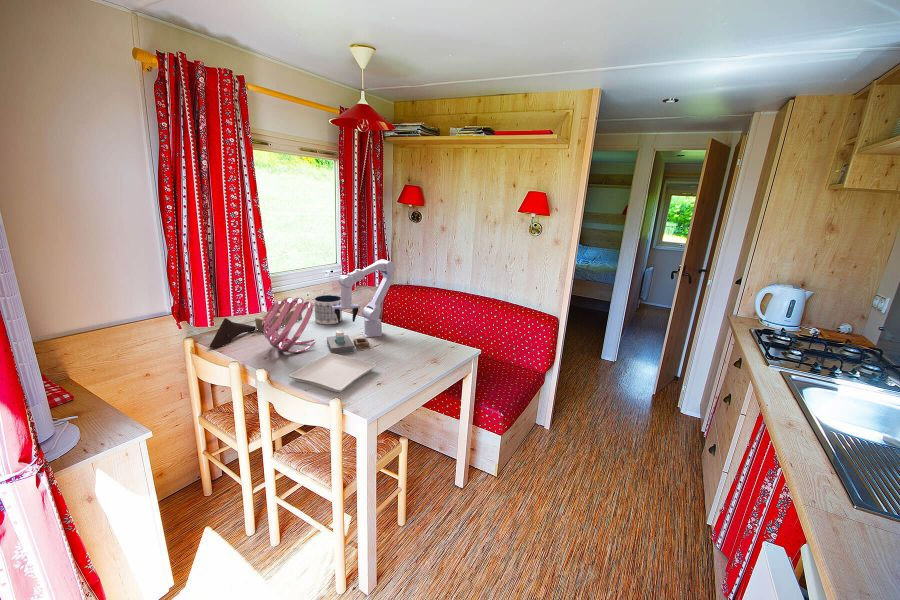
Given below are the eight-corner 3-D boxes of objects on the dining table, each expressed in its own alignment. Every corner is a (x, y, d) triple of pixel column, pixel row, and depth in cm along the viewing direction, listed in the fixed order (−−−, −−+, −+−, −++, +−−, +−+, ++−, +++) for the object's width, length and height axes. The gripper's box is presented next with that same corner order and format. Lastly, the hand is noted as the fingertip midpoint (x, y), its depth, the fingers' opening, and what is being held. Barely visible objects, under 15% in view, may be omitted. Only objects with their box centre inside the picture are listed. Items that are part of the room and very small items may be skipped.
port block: (347, 340, 208) (347, 334, 207) (353, 352, 194) (353, 345, 193) (326, 343, 203) (326, 336, 202) (331, 354, 189) (331, 348, 188)
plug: (342, 344, 201) (342, 329, 199) (344, 347, 197) (344, 332, 195) (336, 344, 200) (335, 330, 197) (337, 348, 196) (337, 333, 193)
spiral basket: (334, 304, 206) (287, 277, 193) (332, 333, 182) (278, 306, 169) (305, 339, 213) (258, 316, 200) (300, 372, 189) (245, 349, 176)
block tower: (266, 334, 213) (304, 318, 239) (265, 320, 211) (303, 306, 237) (256, 331, 216) (294, 316, 242) (254, 317, 214) (293, 303, 240)
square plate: (330, 359, 186) (329, 351, 185) (377, 371, 176) (378, 363, 175) (287, 382, 162) (286, 374, 161) (340, 398, 152) (340, 389, 151)
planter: (347, 319, 242) (346, 297, 238) (329, 326, 228) (329, 303, 224) (327, 315, 248) (326, 293, 244) (309, 321, 234) (308, 299, 230)
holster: (242, 354, 211) (206, 346, 188) (252, 325, 215) (217, 314, 192) (249, 355, 210) (214, 348, 186) (259, 327, 214) (225, 316, 191)
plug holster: (365, 341, 208) (365, 337, 207) (369, 347, 201) (369, 342, 201) (353, 343, 205) (353, 338, 205) (356, 348, 199) (356, 344, 198)
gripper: (333, 300, 197) (333, 325, 200) (361, 299, 203) (361, 323, 206) (331, 296, 203) (331, 321, 206) (358, 295, 209) (358, 319, 212)
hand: (346, 321), depth 207 cm, fingers open, 7 cm apart
